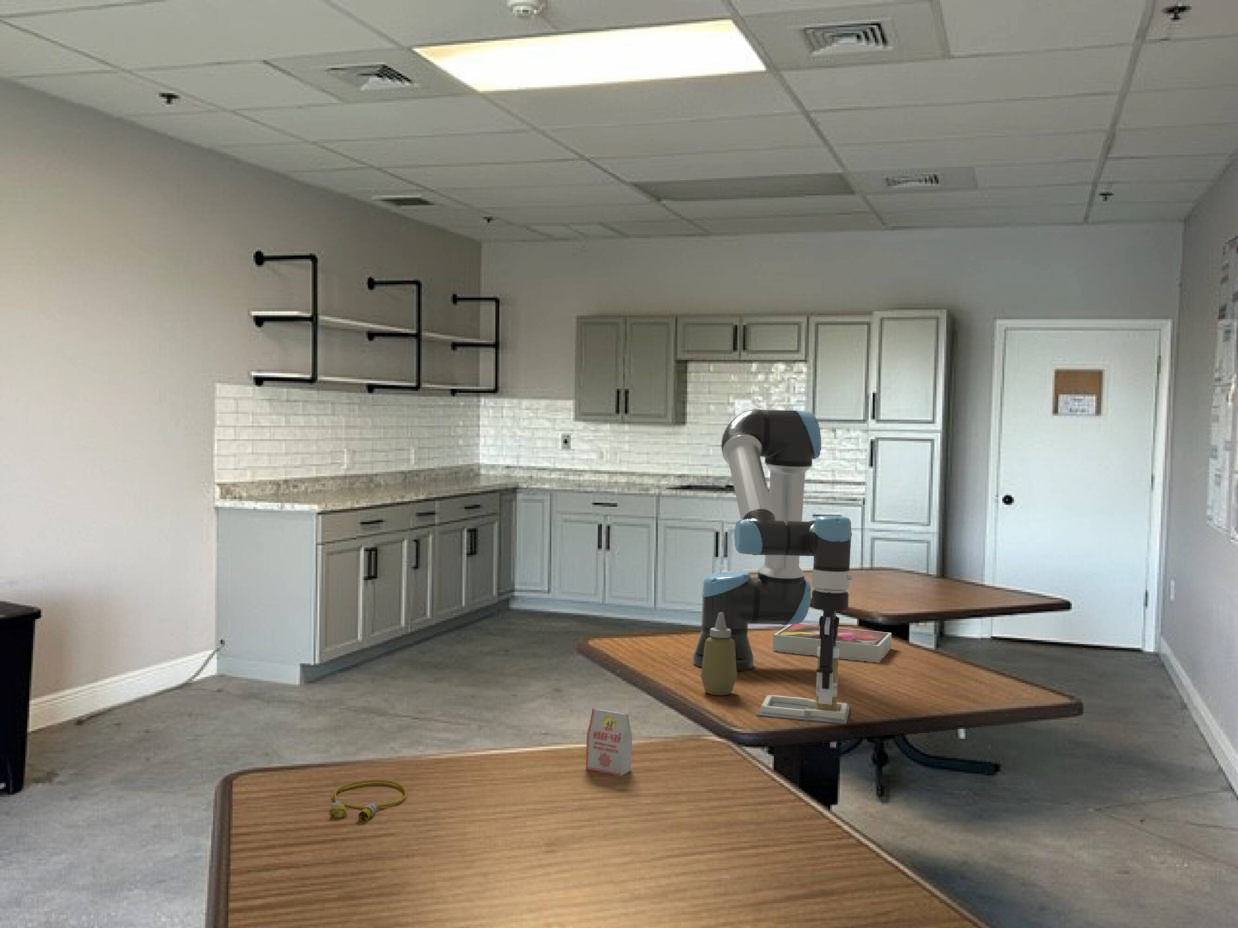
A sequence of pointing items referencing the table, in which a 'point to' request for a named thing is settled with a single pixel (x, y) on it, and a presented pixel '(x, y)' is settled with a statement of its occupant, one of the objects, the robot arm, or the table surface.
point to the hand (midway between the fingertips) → (826, 700)
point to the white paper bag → (609, 743)
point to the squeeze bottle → (719, 660)
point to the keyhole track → (802, 710)
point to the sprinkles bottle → (835, 681)
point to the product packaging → (848, 641)
